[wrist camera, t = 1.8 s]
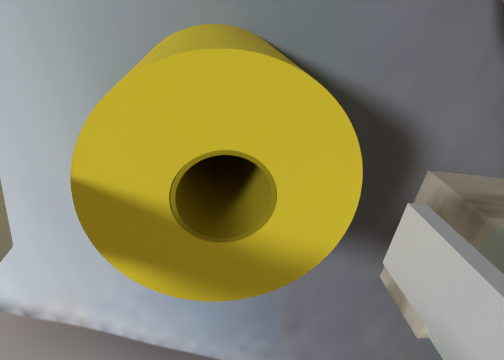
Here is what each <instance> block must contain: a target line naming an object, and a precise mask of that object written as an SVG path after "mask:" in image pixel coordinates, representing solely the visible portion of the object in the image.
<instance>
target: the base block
mask: <svg viewBox="0 0 504 360" xmlns="http://www.w3.org/2000/svg"><path fill="white" fill-rule="evenodd" d="M413 204H425V205H428V206H429V207H430V208H431V209H432V210H433V211H434V212H436V213H437V214H438V215H439V216H440V217H441V218H442V219H443V220H444V221H445V222H446V223H448V224H449V225H450V226H451V227H452V228H453V229H454V230H455V231H456V232H457V233H459V234H460V235H461V236H462V237H463V238H464V239H465V240H466V241H467V242H468V243H470V244H471V245H472V246H473V247H474V248H475V249H476V250H477V251H478V250H479V248H480V247H481V245H482V243H483V242H484V240H485V239H486V237H487V235H488V234H489V232H490V231H491V229H492V228H493V226H503V227H504V179H501V178H493V177H484V176H475V175H466V174H457V173H448V172H439V171H430V170H428V172H427V174H426V176H425V179H424V181H423V183H422V185H421V187H420V190H419V192H418V194H417V196H416V198H415V200H414V203H413ZM380 278H381V280H382V281H383V283H384V284H385V286H386V288H387V289H388V291H389V293H390V294H391V296H392V298H393V299H394V301H395V302H396V304H397V306H398V307H399V309H400V311H401V312H402V314H403V316H404V317H405V319H406V320H407V322H408V324H409V325H410V327H411V329H412V330H413V332H414V333H415V335H416V337H417V338H429V337H428V335H427V334H426V332H427V331H428V329H427V327H426V326H425V324H424V323H423V322H422V320H421V319H420V317H419V316H418V314H417V313H416V311H415V310H414V308H413V307H412V305H411V304H410V302H409V301H408V300H407V298H406V297H405V295H404V294H403V292H402V291H401V289H400V288H399V286H398V285H397V283H396V282H395V280H394V279H393V278H392V276H391V275H390V273H389V272H388V270H387V269H386V267H385V266H384V268H383V271H382V273H381V275H380Z"/></svg>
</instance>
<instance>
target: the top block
mask: <svg viewBox="0 0 504 360" xmlns="http://www.w3.org/2000/svg"><path fill="white" fill-rule="evenodd" d="M478 252H479V253H481V254H482V255H483V256H484V257H485V258H486V259H487V260H488V261H489V262H490V263H492V264H493V265H494V266H495V267H496V268H497V269H498V270H499V271H500V272H501V273H502V274H504V227H503V226H493V228H492V229H491V231H490V232H489V234H488V235H487V237H486V239H485V240H484V242H483V243H482V245H481V247H480V248H479V250H478ZM426 334H427V335H428V337H429V338H430V340H431V341H432V343H433V344H434V346H435V347H436V349H437V351H438V352H439V354H440V355H441V357H442V358H443V360H448V358H447V357H446V355H445V354H444V352H443V351H442V349H441V348H440V346H439V345H438V344H437V342H436V341H435V339H434V338H433V336H432V335H431V333H430V332H429V330H428V331H427V332H426Z"/></svg>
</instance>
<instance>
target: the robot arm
mask: <svg viewBox="0 0 504 360" xmlns="http://www.w3.org/2000/svg"><path fill="white" fill-rule="evenodd" d="M12 247H13V243H12V238H11V232H10V227H9V222H8V217H7V212H6V206H5V201H4V196H3V191H2V186H1V180H0V262H1V261H2V259H3V258H4V257H5V256H6V254H7V253H8V252H9V251H10V249H11V248H12ZM383 264H384V266H385V267H386V269H387V270H388V272H389V273H390V275H391V276H392V278H393V279H394V280H395V282H396V283H397V285H398V286H399V288H400V289H401V291H402V292H403V294H404V295H405V297H406V298H407V300H408V301H409V302H410V304H411V305H412V307H413V308H414V310H415V311H416V313H417V314H418V316H419V317H420V319H421V320H422V322H423V323H424V324H425V326H426V327H427V329H428V330H429V332H430V333H431V335H432V336H433V338H434V339H435V341H436V342H437V344H438V345H439V346H440V348H441V349H442V351H443V352H444V354H445V355H446V357H447V358H448V360H504V274H502V273H501V272H500V271H499V270H498V269H497V268H496V267H495V266H494V265H493V264H492V263H490V262H489V261H488V260H487V259H486V258H485V257H484V256H483V255H482V254H481V253H479V252H478V251H477V250H476V249H475V248H474V247H473V246H472V245H471V244H470V243H468V242H467V241H466V240H465V239H464V238H463V237H462V236H461V235H460V234H459V233H457V232H456V231H455V230H454V229H453V228H452V227H451V226H450V225H449V224H448V223H446V222H445V221H444V220H443V219H442V218H441V217H440V216H439V215H438V214H437V213H436V212H434V211H433V210H432V209H431V208H430V207H429V206H428V205H425V204H413V203H408V204H407V206H406V209H405V211H404V213H403V216H402V218H401V221H400V223H399V225H398V228H397V230H396V232H395V235H394V237H393V239H392V242H391V244H390V246H389V249H388V251H387V254H386V256H385V258H384V261H383Z"/></svg>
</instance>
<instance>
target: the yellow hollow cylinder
mask: <svg viewBox="0 0 504 360" xmlns="http://www.w3.org/2000/svg"><path fill="white" fill-rule="evenodd" d="M362 179H363V166H362V156H361V150H360V146H359V142H358V139H357V136H356V133H355V131H354V128H353V126H352V124H351V122H350V120H349V118H348V116H347V115H346V113H345V112H344V110H343V109H342V107H341V106H340V104H339V103H338V102H337V101H336V99H335V98H334V97H333V96H332V95H331V94H330V93H329V92H328V91H327V90H326V89H325V88H324V87H323V86H322V85H321V84H320V83H318V82H317V81H316V80H315V79H313V78H312V77H311V76H310V75H308V74H307V73H306V72H305V71H303V70H302V69H301V68H299V67H298V66H297V65H296V64H294V63H293V62H292V61H290V60H289V59H288V58H287V57H285V56H284V55H283V54H282V53H280V52H279V51H278V50H276V49H275V48H274V47H273V46H271V45H270V44H269V43H267V42H266V41H265V40H263V39H262V38H260V37H259V36H257V35H255V34H253V33H251V32H249V31H247V30H244V29H241V28H238V27H234V26H229V25H222V24H205V25H198V26H193V27H189V28H186V29H183V30H181V31H178V32H176V33H174V34H172V35H170V36H169V37H167V38H166V39H164V40H163V41H161V42H160V43H159V44H158V45H157V46H156V47H154V48H153V49H152V50H151V51H150V52H149V53H148V54H147V55H146V56H145V57H144V58H143V59H142V60H141V61H140V62H139V63H138V64H137V65H136V66H135V67H134V68H133V69H132V70H131V71H130V72H129V73H128V74H127V75H126V76H125V77H123V78H122V79H121V80H120V81H119V82H118V83H117V84H116V85H115V86H114V87H113V88H112V89H111V90H110V91H109V92H108V93H107V94H106V95H105V96H104V97H103V98H102V99H101V101H100V102H99V103H98V104H97V105H96V107H95V108H94V109H93V111H92V112H91V114H90V115H89V117H88V118H87V120H86V122H85V124H84V126H83V128H82V130H81V132H80V134H79V137H78V139H77V142H76V145H75V149H74V153H73V158H72V164H71V191H72V197H73V202H74V206H75V210H76V213H77V216H78V218H79V221H80V223H81V225H82V227H83V229H84V231H85V233H86V235H87V236H88V238H89V239H90V241H91V242H92V244H93V245H94V246H95V248H96V249H97V250H98V251H99V252H100V254H101V255H102V256H103V257H104V258H105V259H106V260H107V261H108V262H109V263H110V264H111V265H113V266H114V267H115V268H116V269H117V270H119V271H120V272H121V273H123V274H124V275H126V276H127V277H129V278H130V279H132V280H134V281H136V282H137V283H139V284H141V285H143V286H145V287H147V288H150V289H152V290H155V291H157V292H160V293H163V294H166V295H170V296H174V297H178V298H183V299H189V300H196V301H231V300H239V299H245V298H250V297H254V296H258V295H261V294H265V293H268V292H270V291H273V290H276V289H278V288H280V287H283V286H285V285H287V284H289V283H291V282H293V281H295V280H296V279H298V278H300V277H301V276H303V275H304V274H306V273H307V272H309V271H310V270H311V269H313V268H314V267H315V266H316V265H318V264H319V263H320V262H321V261H322V260H323V259H324V258H325V257H326V256H327V255H328V254H329V253H330V252H331V251H332V250H333V249H334V247H335V246H336V245H337V244H338V242H339V241H340V240H341V238H342V237H343V235H344V234H345V232H346V230H347V229H348V227H349V225H350V223H351V221H352V219H353V217H354V214H355V212H356V209H357V206H358V202H359V199H360V194H361V189H362Z"/></svg>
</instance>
